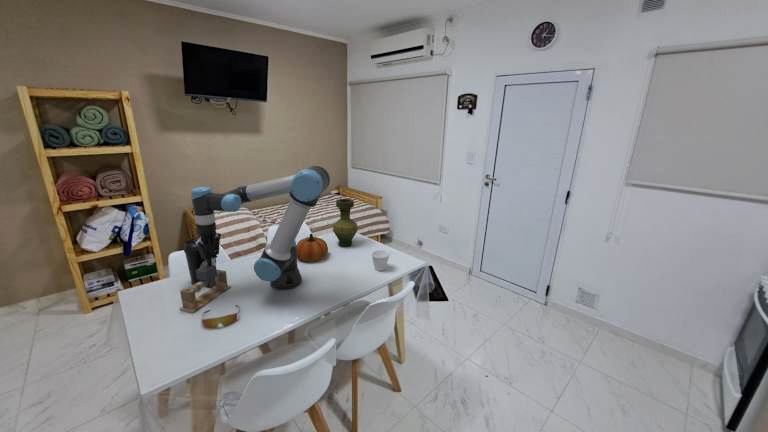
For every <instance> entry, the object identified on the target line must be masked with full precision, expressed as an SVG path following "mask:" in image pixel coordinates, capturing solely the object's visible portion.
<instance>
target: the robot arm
mask: <svg viewBox="0 0 768 432" xmlns="http://www.w3.org/2000/svg"><path fill="white" fill-rule="evenodd" d="M330 182H331V176H330V173H329V171H328V170H326V168H324V167H323V166H320V165H313V166H310V167H308V168H306V169H303V170H302V169H301V170H299V171H298V172H297V173H296V174H292V175H288V176H283V177H279V178H274V179H270V180H265V181H260V182H257V183H252V184H248V185H241V186H238V187H236V188H234V189H231V190H229V191H226V192H223V193H217V192H216V193H215V192H212V189H211V188H210V187H208V186H201V187H195V188H192V189H191V191H190V193H191V203H192V207H193V214H194V215H193V216H194V219H195V220H194V221H195V223H196V225H195V226H196V227H195V228H196V232H197V233H198V241H197V242H194V244H195V245H196V246H197V248H198V250H199V253H200V255H201V257H202V259H204V260H207V265H208V266H216V267H217V265H216V264H217V258H218V255H219V254H220V244H221V243H220V242H221V236H222V233H220V232H217V224H216V223H217V222H216V216H215V212H226V213H232V212H233V213H236V212H238V211H240V209H241V207H242V205H243V204H246V203H251V202H255V201H259V200H264V199H268V198H273V197H278V196H283V195H287V194H288V197H289V199H290V201H289V203H288V204H287V207H286V209H285V211H284V214H283V216H282V218H281V220H280V222H279V225H278V227H277V229H276V231H275V233H274V235H273V237H272V240H271V241H270V243H267V244H266V245H265V247H264V249H263V251H262V252H261V255H260V256H259V258H258V259H257V260H256V261H255V262H254V264H253V271H254V273H255V275H256V277H258V278H259V279H260V280H261V281H264V282H268V283H270V287H271V288H272V289H275V290H279V291H285V290H291V289H295V288H297V287H299V286H300V285H301V284H302V282H303V277H302V274H301V272H300V269H299V268H298V258H297V249H296V247H297V246H296V245H297V241H296V239H297V236H298V234H299V232H300V230H301V228H302V226H303V224H304V222H305V220H306V217H307V215H308V214H309V212H310V210H311V208H314V207H316V205H317V203H318V201H319V200H320V198H321V196H322V193H323V192H324V191H326V190H327V189H328V187H329V186H330Z"/></svg>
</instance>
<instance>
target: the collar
mask: <svg viewBox="0 0 768 432" xmlns="http://www.w3.org/2000/svg"><path fill="white" fill-rule="evenodd" d="M217 270H218V269H217V265H216V266H208V265H204V266H203V267H201V268H199V269H197V270H195V271H196V277H197V279H198V280H200V281H201V280H204V281H209V285H207V286H206V287H204V288H205V289H211V288H213V287H214V286H216V281H215V276H216V275H217Z"/></svg>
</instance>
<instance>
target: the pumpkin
mask: <svg viewBox="0 0 768 432" xmlns="http://www.w3.org/2000/svg"><path fill="white" fill-rule="evenodd" d="M296 246H297V247H296V249H297V259H299V260H301V261H304V262H318V261H319V260H322V259H324V258H325V257H326V256H327V254H328V251H329V247H328V243H327V242H326V240H324V239H323V238H320V237H317V236H314V235H313V233H310V234H309V236H308V237H305V238H302V239H300V240H299V241H298V242H296Z"/></svg>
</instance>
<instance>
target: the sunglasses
mask: <svg viewBox="0 0 768 432" xmlns="http://www.w3.org/2000/svg"><path fill="white" fill-rule="evenodd" d="M234 306H235V307H238V310H237V311H236V312H233V313H229V314H224V315H221V316H219V315H218V316H216V317H206V318H203V316H204V315H205V314H207V313H209V312H210V311H211V309H207V310H205V311H204V312H202V314H201V316H200V320H201V321H200V322H201V323H202V326H203V327H204V328H209V329H218V326H219V325H220V324H221V325H222V326H223V327H226V326H227V327H228V325H231V324H234V323H235V322H237V321H238V318H239V317H238V316H239V314H240V310H241V307H240V306H239V305H238V304H235V305H234Z"/></svg>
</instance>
